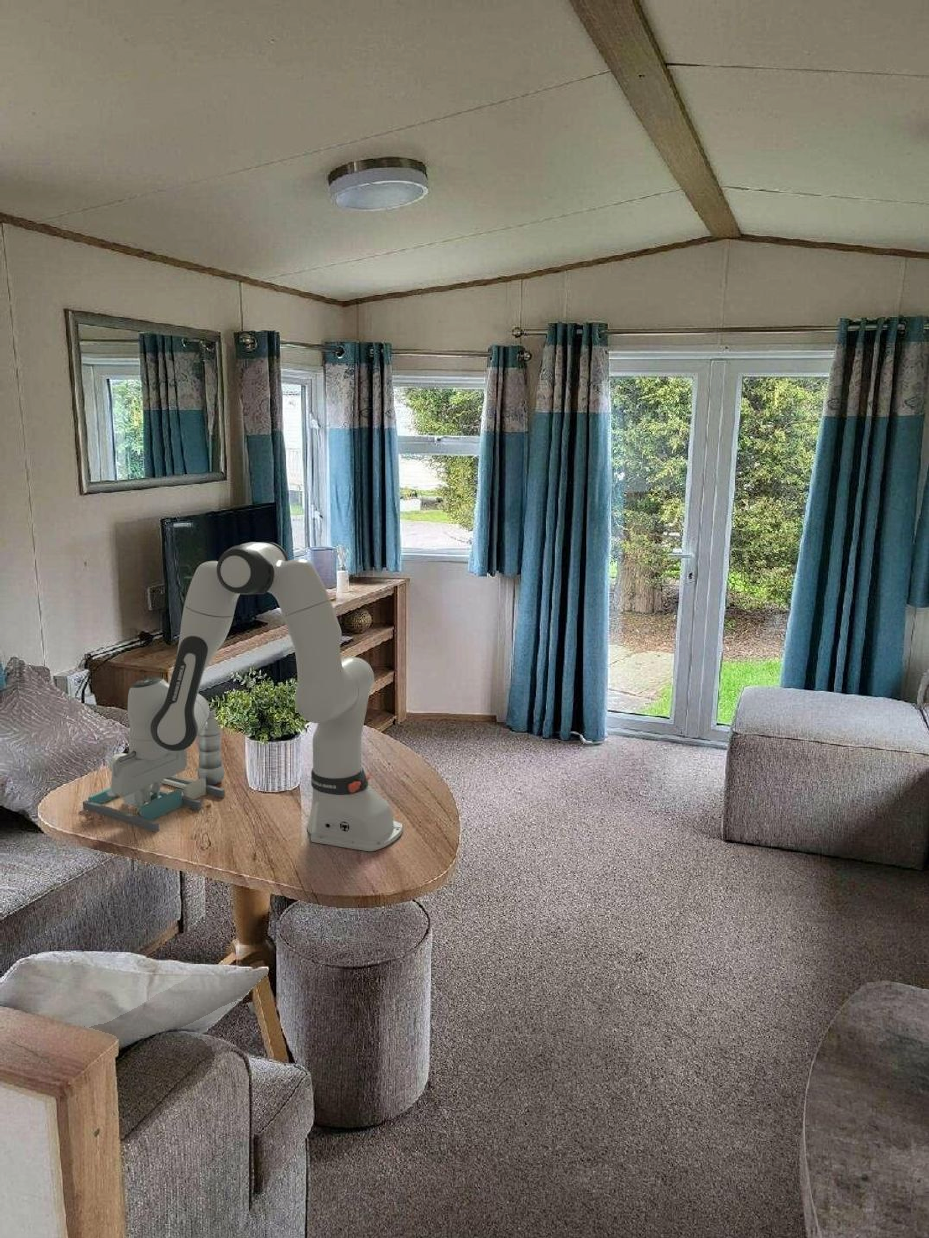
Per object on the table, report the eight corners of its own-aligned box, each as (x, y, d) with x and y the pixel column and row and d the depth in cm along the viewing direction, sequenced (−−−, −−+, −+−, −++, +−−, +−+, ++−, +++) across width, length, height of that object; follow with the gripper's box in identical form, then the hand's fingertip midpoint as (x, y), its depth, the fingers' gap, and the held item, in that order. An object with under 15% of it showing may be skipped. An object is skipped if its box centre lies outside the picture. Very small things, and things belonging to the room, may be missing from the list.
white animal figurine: (153, 809, 214) (119, 761, 217) (170, 791, 210) (135, 742, 213) (126, 822, 207) (91, 773, 209) (142, 804, 203) (106, 753, 206)
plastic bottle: (220, 788, 222) (217, 713, 218) (194, 787, 222) (190, 713, 218) (227, 778, 228) (224, 705, 224) (202, 777, 228) (198, 705, 224)
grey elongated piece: (206, 793, 218) (205, 778, 217) (187, 802, 213) (186, 787, 212) (152, 778, 226) (151, 764, 226) (133, 787, 221) (132, 772, 220)
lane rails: (224, 796, 217) (224, 789, 217) (155, 832, 198) (155, 824, 197) (155, 777, 228) (154, 770, 227) (83, 809, 208) (82, 801, 208)
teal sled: (182, 805, 211) (181, 789, 210) (144, 824, 201) (143, 808, 200) (128, 789, 219) (127, 774, 219) (89, 806, 209) (87, 791, 208)
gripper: (123, 762, 193) (125, 819, 197) (190, 735, 211) (192, 788, 214) (103, 756, 196) (106, 813, 199) (171, 730, 214) (173, 782, 217)
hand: (151, 800), depth 207 cm, fingers closed, pressing on white animal figurine
